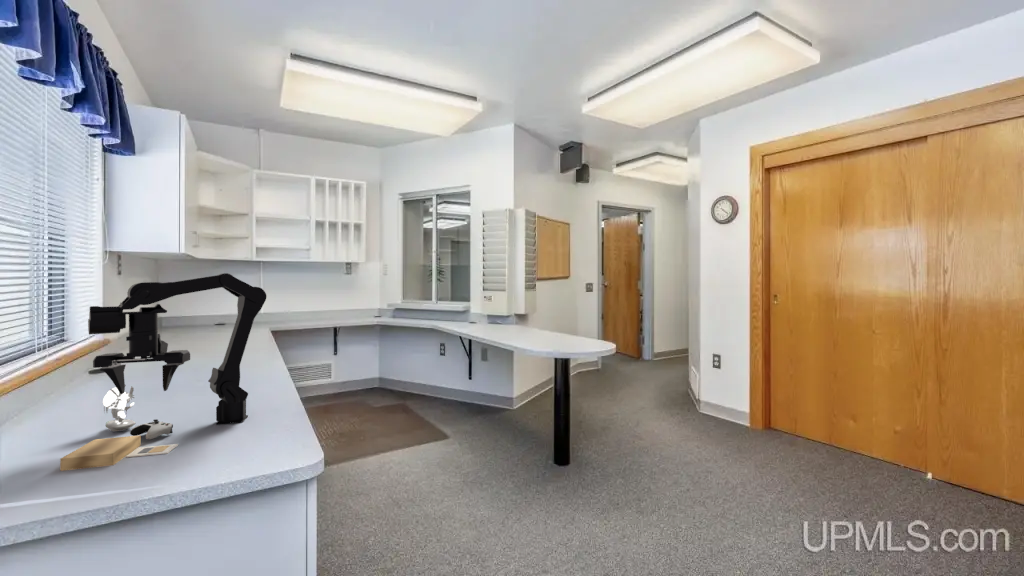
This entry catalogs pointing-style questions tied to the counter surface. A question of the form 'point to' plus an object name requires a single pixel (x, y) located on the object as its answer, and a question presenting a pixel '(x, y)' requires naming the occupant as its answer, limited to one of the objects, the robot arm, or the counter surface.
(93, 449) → the base brick
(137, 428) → the game controller
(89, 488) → the counter surface
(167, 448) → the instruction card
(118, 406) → the figurine
